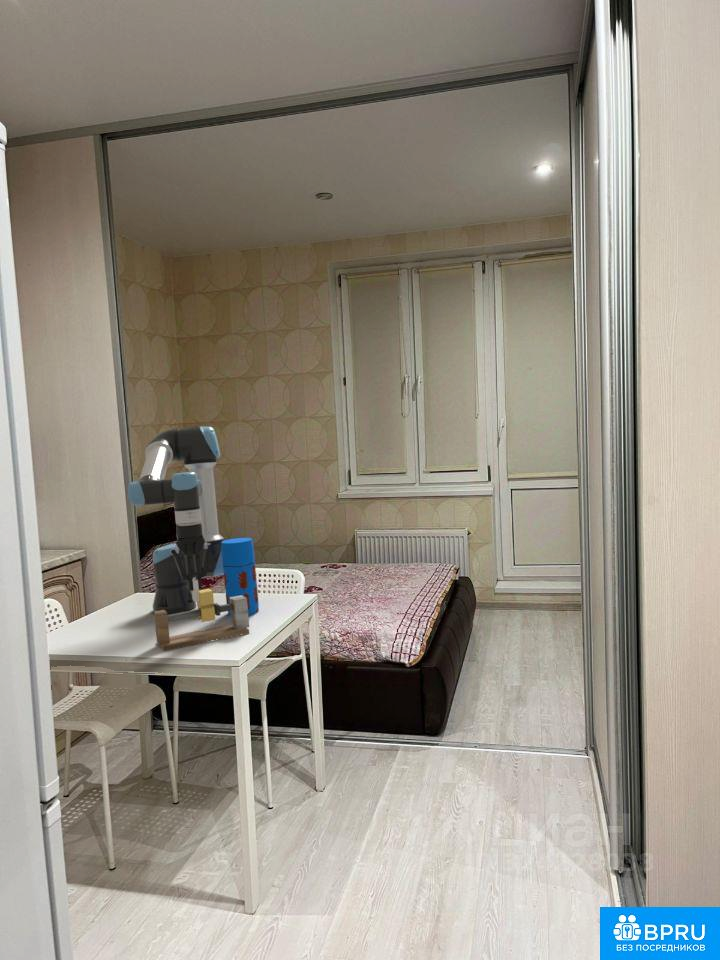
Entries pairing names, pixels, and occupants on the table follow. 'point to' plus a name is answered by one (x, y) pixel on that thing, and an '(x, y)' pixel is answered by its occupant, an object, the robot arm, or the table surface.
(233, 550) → the thermos
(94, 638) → the table surface
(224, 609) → the rod stand
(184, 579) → the robot arm
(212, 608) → the sleeve
